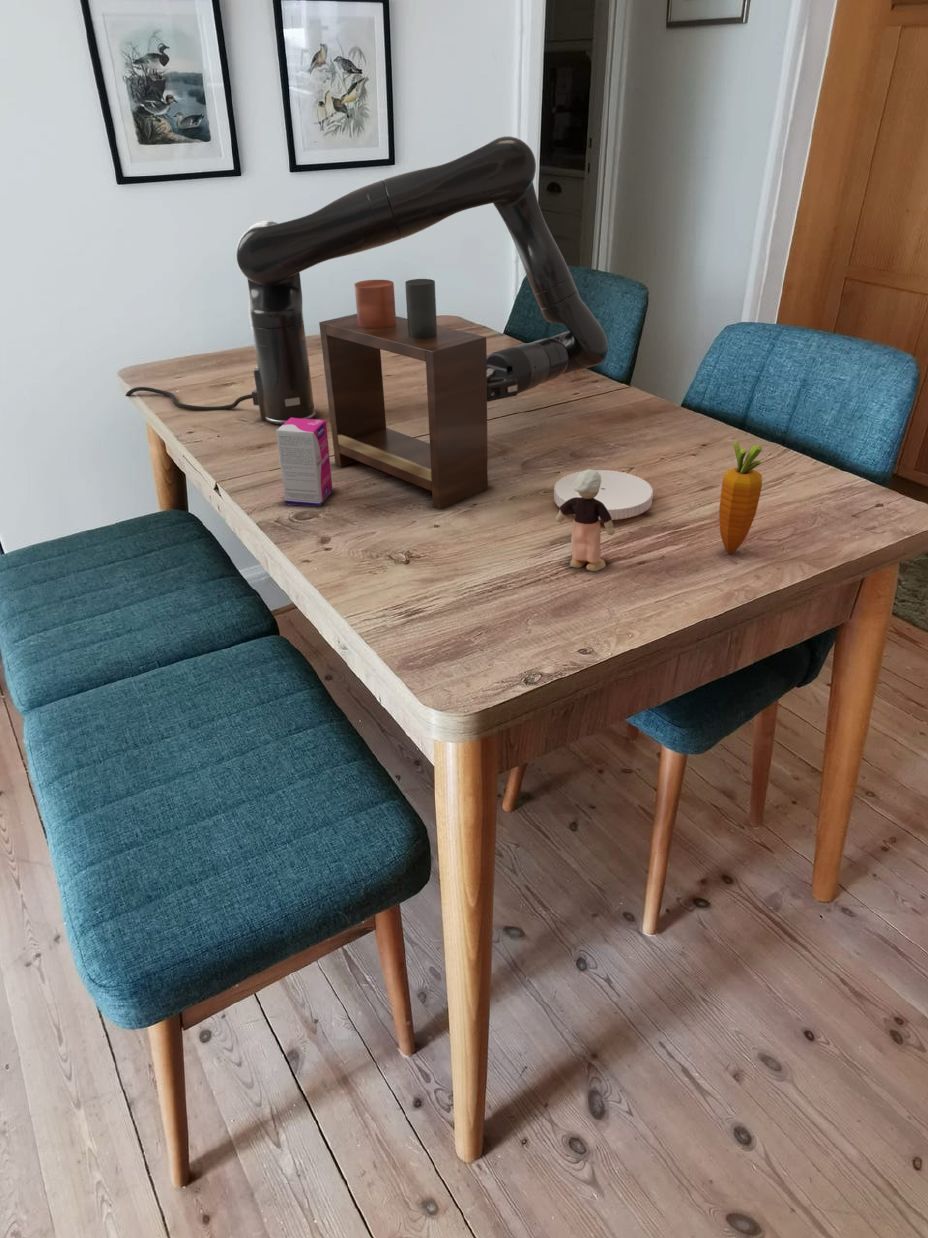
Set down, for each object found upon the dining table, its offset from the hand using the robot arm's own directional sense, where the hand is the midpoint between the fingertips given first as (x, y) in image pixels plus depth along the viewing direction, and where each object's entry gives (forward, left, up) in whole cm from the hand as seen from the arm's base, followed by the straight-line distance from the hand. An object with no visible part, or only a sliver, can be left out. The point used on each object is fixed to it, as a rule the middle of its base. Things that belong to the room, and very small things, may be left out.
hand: (443, 393), depth 130 cm
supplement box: (-16, -18, -11) cm, 27 cm away
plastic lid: (+27, -11, -11) cm, 31 cm away
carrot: (+45, -22, -11) cm, 51 cm away
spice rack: (-4, -7, -11) cm, 14 cm away
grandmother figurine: (+27, -29, -11) cm, 41 cm away
